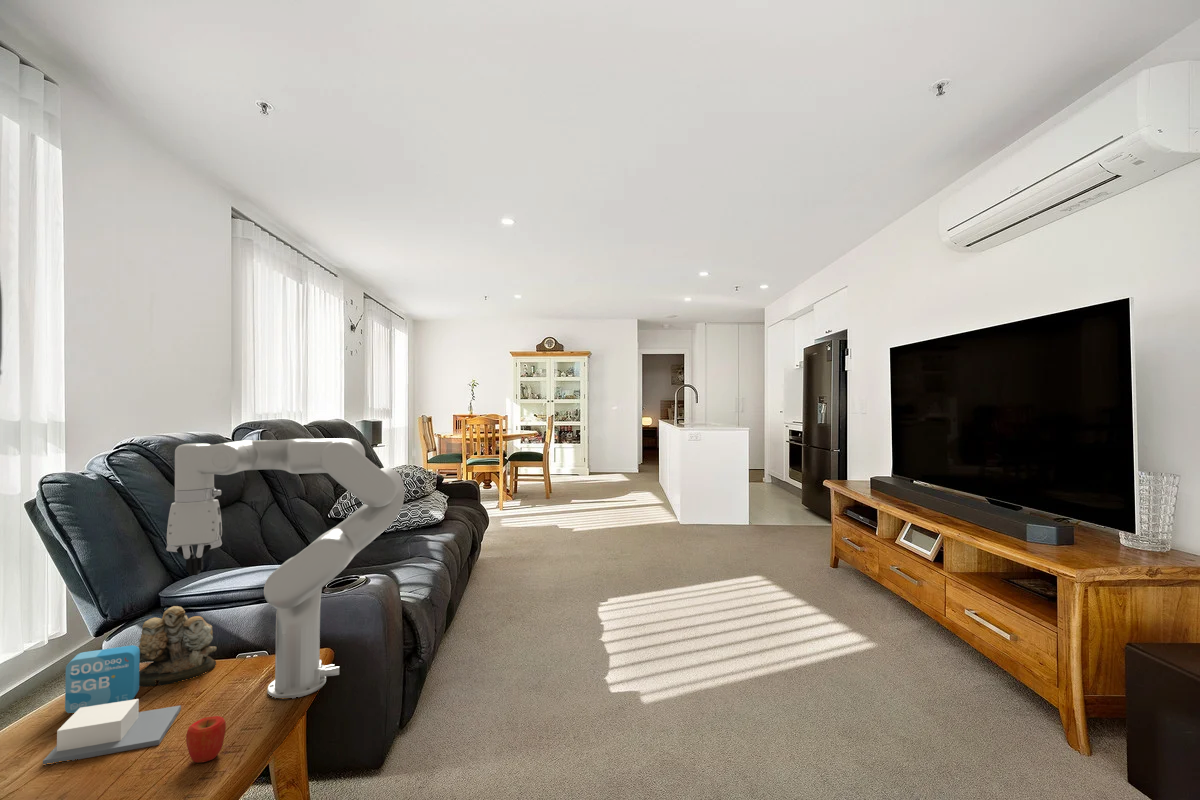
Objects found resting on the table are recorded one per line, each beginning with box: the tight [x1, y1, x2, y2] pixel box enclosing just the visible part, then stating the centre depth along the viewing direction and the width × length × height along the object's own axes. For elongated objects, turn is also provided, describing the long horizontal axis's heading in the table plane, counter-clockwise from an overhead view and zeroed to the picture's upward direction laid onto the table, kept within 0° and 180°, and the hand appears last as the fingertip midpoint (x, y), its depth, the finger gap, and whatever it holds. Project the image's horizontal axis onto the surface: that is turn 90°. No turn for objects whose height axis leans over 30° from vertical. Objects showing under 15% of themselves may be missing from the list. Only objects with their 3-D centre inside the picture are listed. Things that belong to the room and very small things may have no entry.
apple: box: [185, 715, 227, 764], centre depth 108 cm, size 6×6×8 cm
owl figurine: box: [138, 605, 217, 687], centre depth 143 cm, size 18×12×17 cm, turn 124°
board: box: [42, 705, 182, 765], centre depth 116 cm, size 18×14×1 cm
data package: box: [64, 644, 140, 714], centre depth 128 cm, size 12×4×12 cm, turn 116°
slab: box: [56, 698, 140, 751], centre depth 115 cm, size 4×9×10 cm
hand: (194, 573), depth 132 cm, fingers closed
